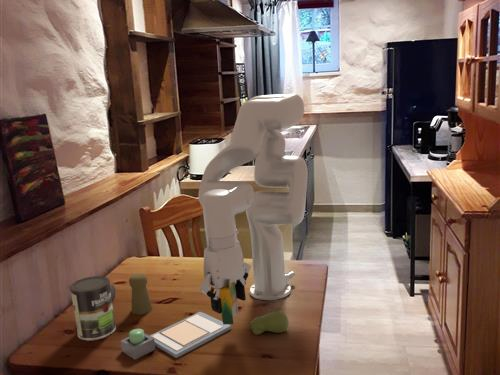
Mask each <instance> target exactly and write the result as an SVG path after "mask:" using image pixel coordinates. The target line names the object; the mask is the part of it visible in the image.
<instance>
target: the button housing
mask: <svg viewBox="0 0 500 375" xmlns="http://www.w3.org/2000/svg"><path fill="white" fill-rule="evenodd" d="M144 338H145V341H144V342H142V343H140V344H137V345H135V346H134V345H132V344H131V343H130V338H129V336H128V337H126V338H123V339H122V340H120V347H121V352H123V353H124V354H125V355H127V356H128V357H130V358H132V359H133V360H134V361H135V360H138V359H139V358H141V357H143V356H145V355H148V354H149V353H151V352H153V351H155V350H156V346H155V342H154V338H152V337H150V335H149V334H147V333H146V332H144Z"/></svg>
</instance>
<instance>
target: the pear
mask: <svg viewBox="0 0 500 375" xmlns="http://www.w3.org/2000/svg"><path fill="white" fill-rule="evenodd" d="M249 325H250V330H251V331H252V332H253V334H254V335H262V334H263V333H264V332H270V333H271V332H272V333H277V334H280V333H283V332H285V331H286V330H287V329H288V327H289V318H288V316H287V315H286V313H284V312H283V311H277V310H276V311H271V312H268V313H266V314H264V315H262V316H257V317H255V318H253V320H251V321H250V322H249Z"/></svg>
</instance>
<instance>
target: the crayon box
mask: <svg viewBox="0 0 500 375" xmlns="http://www.w3.org/2000/svg"><path fill="white" fill-rule="evenodd" d="M235 283H236V282H233V283H231V282H230V279H229V285H227V286H225V287H223V288H221V289H220V294H219V298H220V299H221V305H222V313H221V321H222V322H223V324H229V325H234V324H235V322H236V318H237V315H238V312H239V303H238V298H237V296H236V288H235Z"/></svg>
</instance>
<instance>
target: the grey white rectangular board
mask: <svg viewBox="0 0 500 375" xmlns="http://www.w3.org/2000/svg"><path fill="white" fill-rule="evenodd" d="M230 330H232V324H223V320H220V319H218V318H215V317H213V316H211V315H209V314H207V313H204V312H203V311H198V312H196V313H195V314H192V315H190V316H188V317H186V318H184V319H182V320H180V321H177V322H175V323H173V324H171V325H170V326H167V327H165V328H162V329H160V330H159V331H156V332H155V333H153V334H150V335H149V336H150V337H152V338H154V342H155V347H156V348H159V349H160V350H162V351H163V352H166V353H167V354H169V355H170V356H172V357H174V358H175V359H178V358H180V357H181V356H184V355H186V354H188V353H189V352H191V351H193V350H195V349H196V348H198V347H200V346H202V345H204V344H206V343H207V342H210V341H212V340H214V339H215V338H217V337H219V336H221V335H223V334H225V333H227V332H229V331H230Z"/></svg>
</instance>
